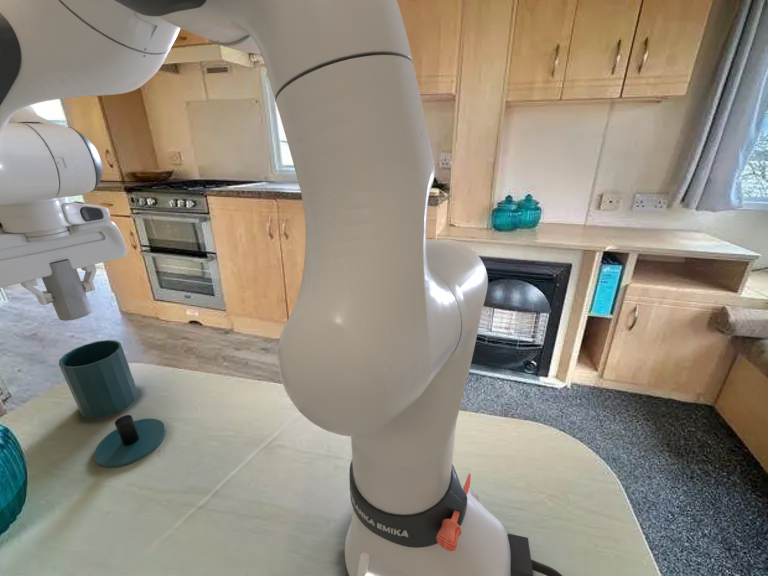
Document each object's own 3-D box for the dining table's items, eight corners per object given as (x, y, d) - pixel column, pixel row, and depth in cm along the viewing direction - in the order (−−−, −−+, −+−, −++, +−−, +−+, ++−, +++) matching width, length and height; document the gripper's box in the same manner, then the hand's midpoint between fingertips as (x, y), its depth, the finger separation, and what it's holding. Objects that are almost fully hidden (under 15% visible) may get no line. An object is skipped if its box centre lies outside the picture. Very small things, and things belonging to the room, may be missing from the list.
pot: (147, 397, 72) (130, 347, 67) (96, 427, 64) (73, 373, 60) (124, 383, 76) (106, 335, 71) (73, 409, 69) (49, 358, 64)
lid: (179, 435, 62) (171, 411, 60) (115, 480, 54) (104, 454, 52) (147, 415, 67) (138, 392, 65) (84, 454, 59) (72, 429, 57)
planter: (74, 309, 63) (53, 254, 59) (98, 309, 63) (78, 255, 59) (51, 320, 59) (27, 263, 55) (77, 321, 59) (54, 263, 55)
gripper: (-58, 232, 45) (-9, 327, 50) (118, 207, 61) (140, 280, 66) (-71, 227, 47) (-24, 317, 53) (100, 204, 64) (123, 274, 69)
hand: (69, 296), depth 60 cm, fingers closed on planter, 4 cm apart
